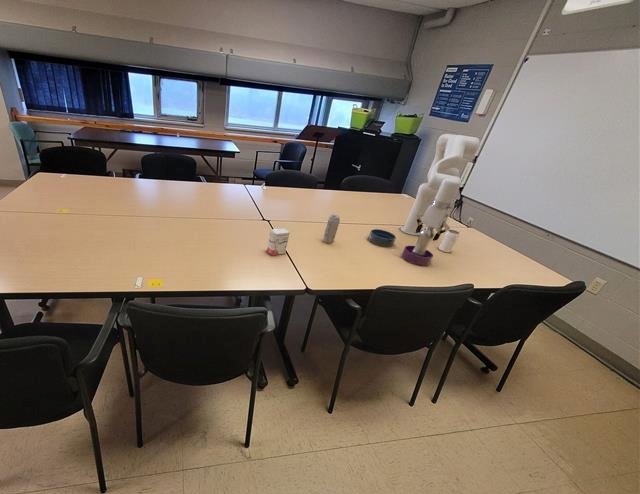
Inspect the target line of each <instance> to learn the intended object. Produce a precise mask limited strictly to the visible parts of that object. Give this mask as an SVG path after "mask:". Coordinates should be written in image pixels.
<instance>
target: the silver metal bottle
mask: <svg viewBox="0 0 640 494" xmlns="http://www.w3.org/2000/svg"><path fill="white" fill-rule="evenodd" d="M434 230H435V228H432V227H431V226H429V225H425V227H424V228H422V229H421V231H420V235H418V239H417V242H416V244H415V245H414V246H415V247H414V249H413V250H412V252H411V253H412V254H414V255H417V256H421V257H424V256H425V252H426V250H428V249H427V248H428V247H429V244H430V243H431V241H433V238H434V236H435V231H434Z"/></svg>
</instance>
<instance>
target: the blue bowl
mask: <svg viewBox="0 0 640 494" xmlns="http://www.w3.org/2000/svg"><path fill="white" fill-rule="evenodd" d="M396 239H397V236H396V235H395V234H394V233H393V232H390V231H388V230H384V229H379V228H376V229H375V228H374V229H371V230H370V232H369V235H368V238H367V240H368V241H369V242H371V243H372V244H375V245H377V246H380V247H387V248H388V247H392V246H394V244H395V242H396Z"/></svg>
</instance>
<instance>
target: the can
mask: <svg viewBox="0 0 640 494" xmlns="http://www.w3.org/2000/svg"><path fill="white" fill-rule="evenodd" d="M459 236H460V232H459V231H457V230H454V229H449V230H448V231H446V232H445V234H444V236H443V238H442V240H441V242H440V244H439V246H438V250H440V251H441V252H443V253H451V251H452V250H453V248H454V246H455V244H456V242H457V240H458V238H459Z"/></svg>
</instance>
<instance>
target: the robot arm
mask: <svg viewBox="0 0 640 494" xmlns="http://www.w3.org/2000/svg"><path fill="white" fill-rule="evenodd" d="M480 145H481V140H480V138H479V137H477V136H469V135H464V134H452V133H444V134H441V135H439V137H438V139H437V142H436V146H435V155H434V158H433V161H432V162H431V165H430V168H429V170H428V173H427V175H426V179H427V182H424V183H421V184H420V185H419V186H418V189H417V193H416V197H415V198H414V199H415V200H414V203H413V204H412V207H411V210H410V212H409V213H408V216H407V219H406V222H405V224H404V226H401V227H400V231H402V232H403V233H405V234H406V235H410V236H418V237H419V235H420V232H421V231H422V230H423V229H424V225H425V226H427V225H429V226H431V227H432V228H434V230H436V233H434V236H433V238H432V241H433V242H436V241H438V240H439V239H440V237H441V234H444V233H446V232H447V231H448V230H451V227H450V226H449V225H448V224H447V220H448V218H449V215H450V210H452V209H453V205H452V202H453V201H454V198H455V196H456V194H457V192H458V190H459V189H460V187H461V185H462V180H461V178H460V170H459V169H458V168H457V167H458V166H460V165H461V164H462V163H463V160H464V155H466V156H474V155H475V154H476V153H477V152H478V150H479V148H480ZM429 201H431V202H432V203H431V204H430V203H429Z"/></svg>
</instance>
